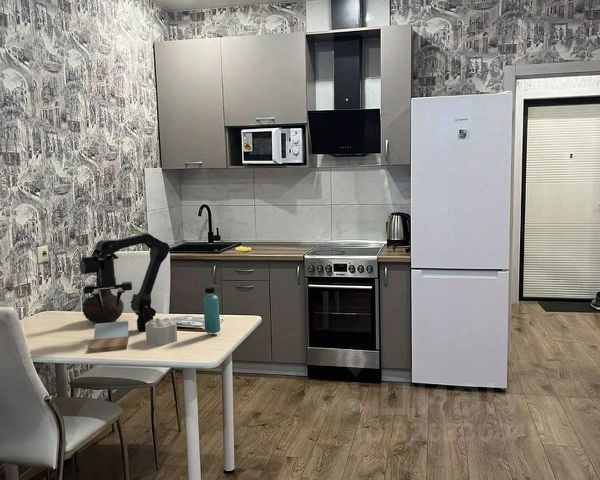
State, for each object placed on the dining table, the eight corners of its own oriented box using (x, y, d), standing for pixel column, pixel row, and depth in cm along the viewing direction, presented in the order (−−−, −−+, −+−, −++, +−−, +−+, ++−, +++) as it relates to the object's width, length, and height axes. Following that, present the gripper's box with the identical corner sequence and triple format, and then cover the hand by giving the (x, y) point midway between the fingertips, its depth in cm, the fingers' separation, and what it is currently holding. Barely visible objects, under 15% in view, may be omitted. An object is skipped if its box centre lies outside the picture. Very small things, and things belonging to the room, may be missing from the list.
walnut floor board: (128, 340, 235) (128, 336, 235) (126, 349, 223) (126, 345, 223) (93, 344, 232) (92, 340, 232) (89, 352, 220) (89, 348, 220)
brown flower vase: (82, 320, 272) (77, 261, 269) (121, 315, 280) (117, 257, 277) (85, 328, 256) (80, 266, 253) (127, 323, 264) (122, 262, 261)
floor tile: (128, 323, 244) (127, 320, 244) (127, 339, 236) (127, 336, 235) (95, 326, 241) (95, 323, 241) (94, 342, 233) (93, 339, 232)
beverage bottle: (223, 333, 241) (221, 285, 238) (214, 337, 235) (212, 289, 232) (210, 332, 243) (207, 285, 241) (201, 336, 237) (198, 288, 235)
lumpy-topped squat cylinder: (159, 346, 225) (158, 325, 224) (139, 341, 233) (138, 320, 232) (181, 340, 233) (179, 319, 232) (161, 335, 241) (159, 315, 240)
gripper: (131, 266, 247) (134, 302, 249) (85, 269, 243) (88, 305, 245) (130, 270, 236) (133, 307, 238) (82, 273, 232) (85, 311, 234)
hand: (110, 308), depth 239 cm, fingers open, 6 cm apart
